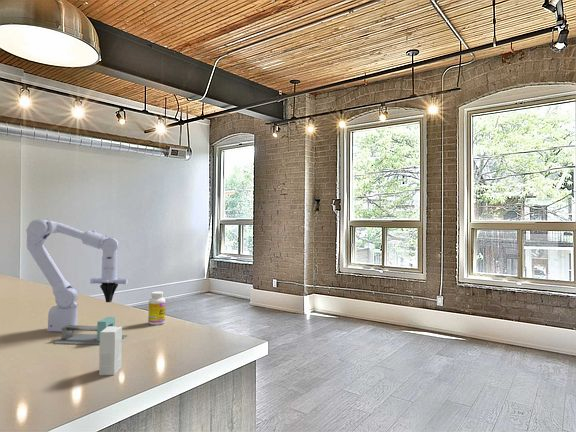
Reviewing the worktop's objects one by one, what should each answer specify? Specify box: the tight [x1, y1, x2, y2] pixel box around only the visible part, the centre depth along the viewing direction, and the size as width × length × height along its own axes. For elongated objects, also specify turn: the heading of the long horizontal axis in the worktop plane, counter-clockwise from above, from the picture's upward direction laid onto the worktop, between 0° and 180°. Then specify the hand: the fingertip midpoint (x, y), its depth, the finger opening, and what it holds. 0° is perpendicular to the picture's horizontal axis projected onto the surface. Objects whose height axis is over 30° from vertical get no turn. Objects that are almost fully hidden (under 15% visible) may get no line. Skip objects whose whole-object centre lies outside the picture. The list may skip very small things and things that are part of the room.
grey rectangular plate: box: [53, 333, 128, 346], centre depth 139 cm, size 21×11×1 cm, turn 88°
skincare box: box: [98, 325, 123, 376], centre depth 110 cm, size 6×4×12 cm
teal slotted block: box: [96, 316, 116, 341], centre depth 139 cm, size 3×7×7 cm, turn 178°
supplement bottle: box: [147, 290, 166, 326], centre depth 163 cm, size 7×7×13 cm
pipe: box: [60, 324, 123, 340], centre depth 139 cm, size 20×4×5 cm, turn 88°
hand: (108, 301), depth 156 cm, fingers closed
